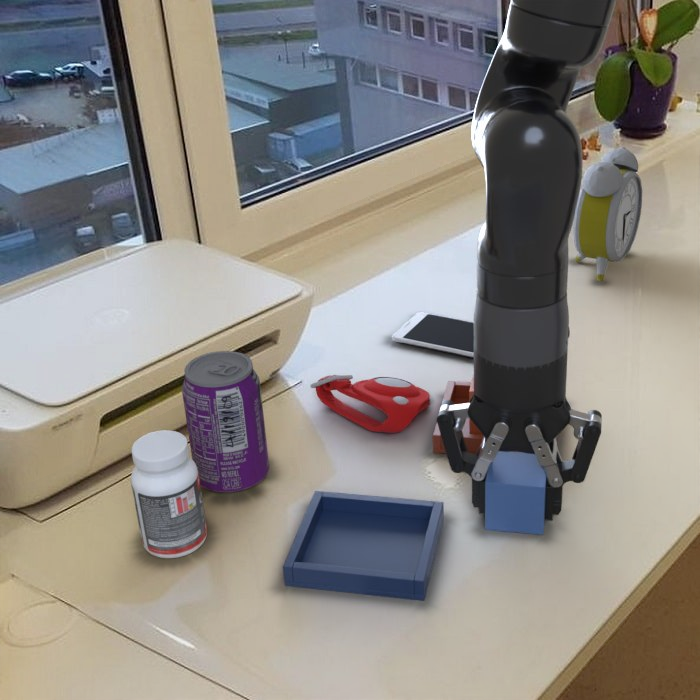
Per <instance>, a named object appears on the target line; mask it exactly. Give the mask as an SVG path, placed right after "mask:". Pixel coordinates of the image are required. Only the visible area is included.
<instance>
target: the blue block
mask: <svg viewBox="0 0 700 700" xmlns="http://www.w3.org/2000/svg"><path fill="white" fill-rule="evenodd" d="M546 481H547V477H546V475H545V472H544V470H543V468H541V467H540V465H539V462H538V460H537V457H536V455H535V454H528V453H523V452H502V451H498V453H497V455H496V457H495V459H494V461H493V463H492V464H491V465H490V468H489V470H488V472H487V476H486V481H485V514H484V529H485V530H486V531H498V532H506V533H507V532H508V533H517V534H518V533H519V534H528V535H529V534H530V535H539V536H540V535H541V536H543V535H544V533H545V523H546V520H545V497H546Z"/></svg>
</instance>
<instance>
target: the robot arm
mask: <svg viewBox="0 0 700 700" xmlns="http://www.w3.org/2000/svg"><path fill="white" fill-rule="evenodd" d="M617 1H618V0H510V4H509V8H508V12H507V18H506V23H505V28H504V31H503V34H502V37H501V39H500V41H499V43H498V45H497V47H496V50H495V51H494V54H493V57H492V59H491V61H490V64H489V66H488V69H487V70H486V71H487V72H486V74H485V77H484V79H483V82H482V85H481V88H480V90H479V93H478V96H477V99H476V103H475V106H474V113H473V116H472V120H471V121H472V122H471V130H470V131H471V132H470V133H471V134H470V135H471V137H470V138H471V144H472V148H473V151H474V154H475V156H476V159H477V160H478V162H479V163H480V165H481V166H482V169H483V171H484V179H485V222H484V223H483V224H482V226H481V228H480V229H479V234H478V237H477V245H476V297H475V303H474V310H473V322H474V358H473V374H474V395H473V396H472V398H471V399H470V401H469V403H464V404H456V405H454V403H453V402H452V401H450V400H444V401H443V400H442V401H443V402H441V403H440V407H439V410H438V413H437V417H436V422H437V423H438V427H439V430H440V434H441V437H442V441H443V444H444V447H445V451H446V453H445V455H446V458H447V461H448V464H449V468H450V470H451V471H452V472H453V473H455V474H461V473H465V474H466V475H468V476H469V477H470V478H471V504H472V506H473V508H476V509H478V512H479V514H480V515H485V481H486V476H487V472H488V470H489V468H490V465H491V464H492V463H493V461H494V459H495V457H496V455H497V453H498V451H502V452H511V451H521V452H524V453H528V454H535V455H536V457H537V460H538V462H539V465H540V467H541V468H543V470H544V472H545V475H546V477H547V481H546V497H545V521H553V519H554V515H555V516H559V515H560V513H561V512H562V505H563V489H564V488H563V487H564V485H565V484H567V483H569V482H573V483H575V484H581V483H583V482H584V481H585V479H586V477H587V473H588V471H589V467H590V465H591V463H592V460H593V457H594V454H595V451H596V448H597V446H598V443H599V440H600V437H601V434H602V427H603V426H602V424H603V422H602V421H603V415H602V413H601V411H599V410H596V409H592V410H589V411H588V412H587V413H586V412H581V411H578V410H574V409H572V407H571V405H570V403H569V402H568V400H567V396H566V395H567V376H568V375H567V374H568V353H569V352H568V350H569V338H570V335H571V334H570V313H569V312H570V311H569V303H568V279H569V238H570V234H571V231H572V227H573V226H574V217H575V211H576V207H577V202H578V198H579V193H580V191H581V188H582V181H583V147H582V140H581V136H580V133H579V131H578V128H577V127H576V125H575V123H574V122H573V120H572V119H571V118H570V117H569V116H568V115H567V111H568V107H569V104H570V103H569V102H570V100H571V96H572V94H573V91H574V89H575V86H576V84H577V81H578V77H579V75H580V73H581V70H582V68H585V67H587V66H589V65H591V64H592V63H593V62H595V60H596V59H597V58H598V57H599V55H600V52H601V51H602V48H603V46H604V43H605V41H606V38H607V34H608V31H609V28H610V26H609V25H610V24H611V22H612V18H613V14H614V11H615V8H616V4H617ZM467 418H470V419H471V420H472V422H473V423H474V424H475V425H476V427H477V428H478V429H479V430H480V432H481V433H482V434H483V435H484V437H483V440H482V443H481V445H480V447H479V449H478V452H477V454H476V455H475V454H472V453H470V452H468V451H467V447H466V444H465V440H464V436H463V433H462V429H463V428H464V424H465V419H467ZM567 426H571V427H572V429H573V436H574V438H575V439H577V442H576V446H575V449H574V451H573V455H572V457H571V459H568V460H563V458H562V456H561V454H560V451H559V448H558V442H556V439H555V438H556V437H557V438H558V436H559V435H560V434H561V432H562V431H564V429H566V428H567Z"/></svg>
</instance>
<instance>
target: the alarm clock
mask: <svg viewBox="0 0 700 700" xmlns="http://www.w3.org/2000/svg"><path fill="white" fill-rule="evenodd" d="M638 172H639V162H638V159H637V157H636V155H635V153H633V152H632V151H630V150H629V149H627V148H626V147H625V146H620V147H618V148H617V147H616V148H612V149H610V150H608V151H607V152H605V153H604V154H603V155H602V157H601V159H600V161H598V162H595V163H593V164H591V165H590V166H589V167H588V168H586V170H585V172H584V174H583V175H582V180H581V187H580V193H579V198H578V202H577V207H576V211H575V216H574V220H573V241H574V245H575V249H576V250H577V252H578V253H577V255H576V256H575V257H574V261H575V262H576V263H580V262H581V261H583V260H585V259H586V258H589V259H594V260H596V276H597V281H598V282H604V279H605V276H606V275H605V274H606V272H607V270H608V269H607V268H608V265H609V263H610V262H612V263H613V262H614V263H615V262H617V263H618V262H620V261H622V260H623V259H625V258H626V256H628V254H629V253H630V251H631V249H632V247H633V244H634V241H635V239H636V236H637V233H638V229H639V225H640V220H641V214H642V207H643V186H642V179H641V177H640V176H639V174H638Z"/></svg>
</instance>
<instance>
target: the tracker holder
mask: <svg viewBox="0 0 700 700" xmlns="http://www.w3.org/2000/svg"><path fill="white" fill-rule="evenodd" d="M353 378H354V376H353V375H352V374H343V375H341V374H333V375H330V374H329V375H326V376H322V377H321V378H319V379H318V380H317V382H313V383H311V384H310V388H311V389H315V393H316V396H317V398H318V399H319V401H321V403H323V404H324V405H325V406H326V407H328V408H329V409H331V410H332V411H334V412H335V413H337V414H339V415H340V416H342V417H344V418H346V419H347V420H350V421H351V422H353V423H355V424H357V425H359V426H361V427H363V428H365V429H366V430H368V431H371V432H377V433H389V434H397V433H400V432H402V431H404V430H405V429H406V428H407V427H408V426H409V425H410V424H411V423H412V422H413V420H414V419H415V418H416V417H417V416H418V415H419V414H420V413H421V412H422V411H424V410H426V409H427V408H428V407H429V406H430V403H431V394H430V393H429V392H428V391H427V390H425V389H423V388H421V387H419V386H416V385H415V384H413V383H411V382H410V381H408V380H405V379H402V378H396V377H390V376H378V377H372V378H370V379H362V380H359V381H355V382H354V383H352V381H351V380H352V379H353ZM332 391H337V392H339V393H340V394H342V395H345V396H347V397H349V398H351V399H355V400H356V401H360V402H362V403H364V404H368V405H370V406H373V407H375V408H377V409H378V410H380V411H381V412H383V413H384V414H385V415H386V416H387V418H386V419H384V421H383V422H381V421H379V420H377V419H375V418H373V417H372V416H369V415H367V414H365V413H363V412H361V411H359V410H357V409H355V408H354V407H351V406H350V405H348V404H346V403H344V402H343V401H341V400H340V399H338V398H337V397H336V396H335V395H334V394H333V392H332Z"/></svg>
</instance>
